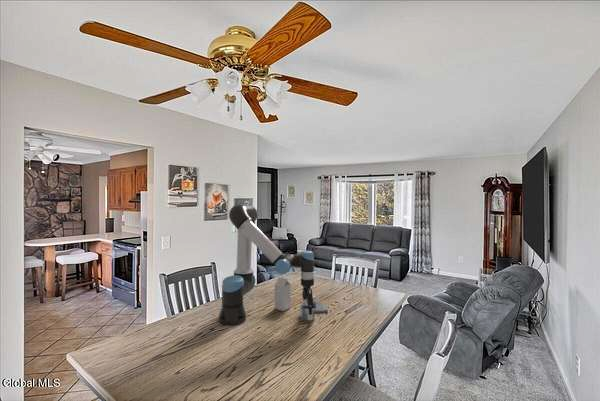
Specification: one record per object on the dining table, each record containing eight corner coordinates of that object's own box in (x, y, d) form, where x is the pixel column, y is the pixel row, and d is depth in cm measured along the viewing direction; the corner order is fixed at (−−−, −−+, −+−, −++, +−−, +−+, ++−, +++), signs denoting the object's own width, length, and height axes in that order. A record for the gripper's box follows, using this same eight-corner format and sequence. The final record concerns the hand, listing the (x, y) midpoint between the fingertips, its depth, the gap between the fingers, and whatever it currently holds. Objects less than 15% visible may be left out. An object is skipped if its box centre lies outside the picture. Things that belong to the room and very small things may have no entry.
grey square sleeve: (301, 320, 161) (302, 309, 161) (299, 315, 168) (300, 305, 168) (314, 319, 162) (314, 309, 162) (311, 315, 169) (311, 304, 169)
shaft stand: (305, 313, 171) (305, 300, 171) (301, 305, 184) (301, 292, 184) (327, 312, 173) (328, 299, 173) (322, 304, 187) (322, 291, 187)
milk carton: (283, 311, 174) (283, 280, 174) (274, 308, 178) (274, 278, 178) (290, 308, 179) (290, 277, 179) (281, 305, 184) (282, 275, 184)
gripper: (318, 284, 153) (319, 323, 153) (309, 272, 178) (309, 306, 177) (305, 284, 151) (305, 324, 151) (297, 273, 176) (297, 307, 176)
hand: (307, 315), depth 164 cm, fingers open, 13 cm apart
